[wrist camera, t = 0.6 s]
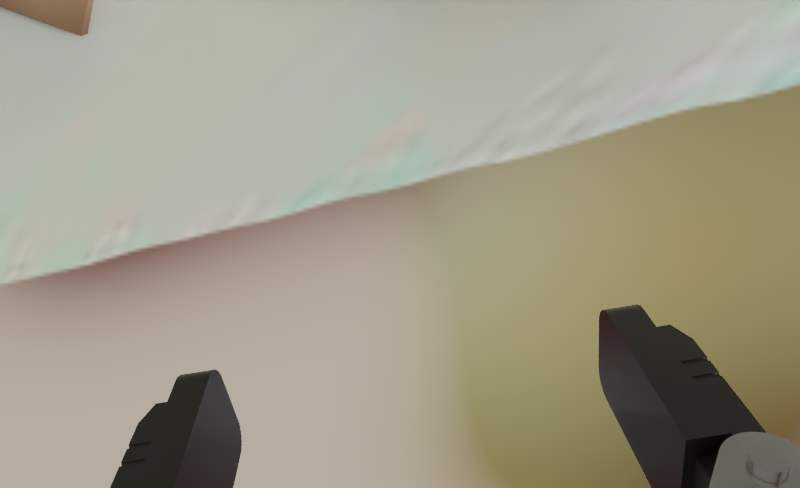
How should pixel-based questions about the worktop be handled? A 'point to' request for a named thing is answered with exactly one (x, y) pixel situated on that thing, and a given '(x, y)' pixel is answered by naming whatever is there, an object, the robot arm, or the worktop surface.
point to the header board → (55, 12)
